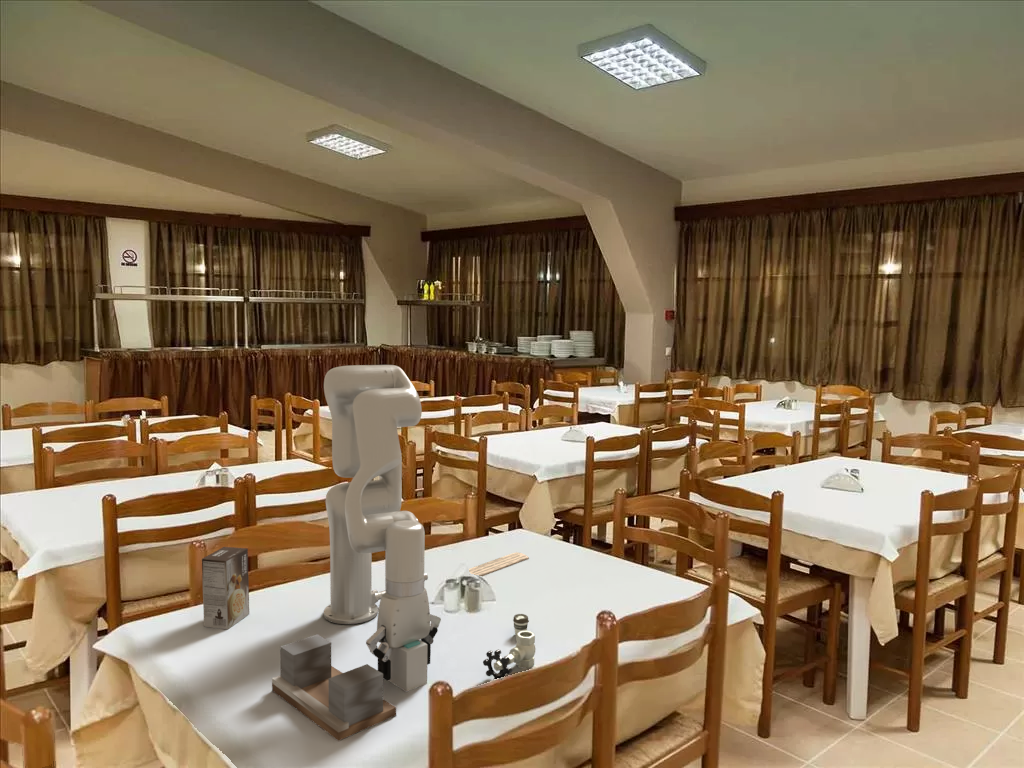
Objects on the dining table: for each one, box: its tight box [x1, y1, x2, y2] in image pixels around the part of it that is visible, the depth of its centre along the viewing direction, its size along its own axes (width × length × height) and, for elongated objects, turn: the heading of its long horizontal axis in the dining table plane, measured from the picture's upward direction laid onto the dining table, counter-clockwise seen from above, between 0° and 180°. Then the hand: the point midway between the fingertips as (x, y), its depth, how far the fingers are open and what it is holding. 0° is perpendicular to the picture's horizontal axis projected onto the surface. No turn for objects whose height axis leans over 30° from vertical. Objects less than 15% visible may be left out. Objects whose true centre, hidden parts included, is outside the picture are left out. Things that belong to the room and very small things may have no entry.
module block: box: [383, 639, 428, 693], centre depth 153 cm, size 5×8×8 cm, turn 45°
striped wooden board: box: [468, 551, 530, 577], centre depth 219 cm, size 24×7×2 cm, turn 139°
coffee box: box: [201, 546, 250, 630], centre depth 178 cm, size 9×6×16 cm
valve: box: [482, 630, 537, 680], centre depth 157 cm, size 7×7×12 cm
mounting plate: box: [271, 633, 397, 742], centre depth 144 cm, size 12×23×8 cm, turn 45°
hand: (404, 669), depth 153 cm, fingers open, 9 cm apart
